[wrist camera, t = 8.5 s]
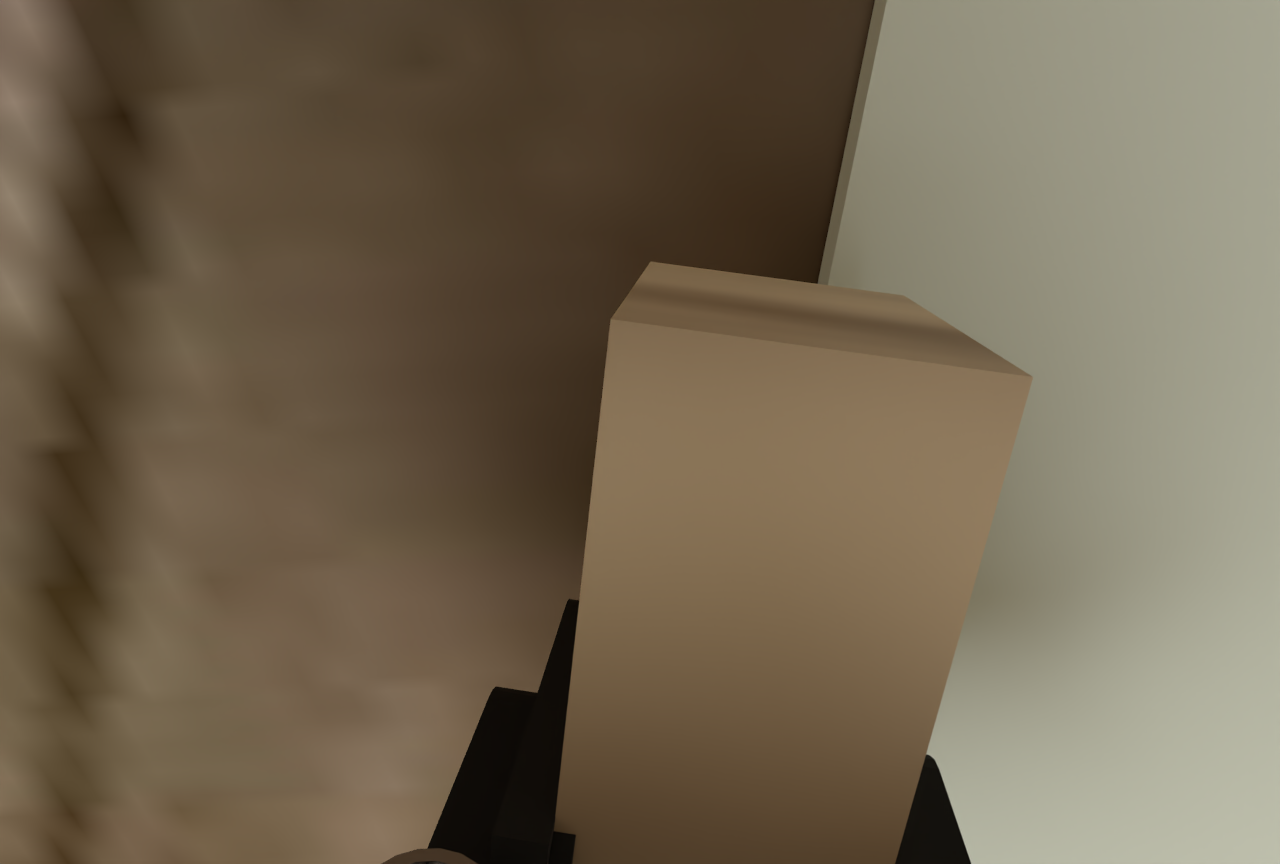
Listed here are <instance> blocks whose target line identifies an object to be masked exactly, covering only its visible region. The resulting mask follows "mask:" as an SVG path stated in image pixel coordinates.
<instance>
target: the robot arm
mask: <svg viewBox="0 0 1280 864" xmlns="http://www.w3.org/2000/svg"><path fill="white" fill-rule="evenodd" d="M578 608H579V601H578V600H572V599H569V600H568V601H567V604H566V607H565V610H564V613H563V616H562V619H561V622H560V625H559V628H558V631H557V635H556V638H555V641H554V644H553V647H552V650H551V653H550V656H549V659H548V662H547V665H546V669H545V672H544V675H543V678H542V681H541V684H540V687H539V690H538V693H534V692H527V691H521V690H514V689H508V688H502V687H495V688H494V689H493V690H492V692H491V694H490V696H489V698H488V701H487V703H486V706H485V708H484V710H483V713H482V715H481V718H480V720H479V723H478V725H477V728H476V730H475V733H474V735H473V738H472V740H471V743H470V745H469V747H468V750H467V752H466V755H465V757H464V760H463V762H462V765H461V767H460V770H459V772H458V775H457V777H456V779H455V782H454V784H453V787H452V789H451V792H450V794H449V797H448V799H447V802H446V804H445V807H444V809H443V811H442V814H441V816H440V819H439V821H438V824H437V826H436V829H435V831H434V834H433V836H432V839H431V841H430V843H429V846H428V848H427V849H417V850H413V851H410V852H406V853H403V854H399V855H396V856H394V857H392V858H391V859H389V860H387V861H385V862H384V863H382V864H573V855H574V847H575V839H576V835H575V834H568V833H562V832H556V831H554V827H555V814H556V805H557V796H558V787H559V778H560V769H561V760H562V751H563V742H564V733H565V724H566V715H567V706H568V697H569V689H570V680H571V671H572V662H573V653H574V644H575V635H576V626H577V617H578ZM895 864H971V861H970V858H969V855H968V853H967V850H966V847H965V844H964V841H963V838H962V835H961V832H960V829H959V826H958V823H957V820H956V817H955V814H954V811H953V808H952V805H951V802H950V799H949V797H948V794H947V791H946V788H945V785H944V782H943V779H942V776H941V773H940V770H939V768H938V766H937V763H936V761H935V759H934V758H932V757H931V756H930V755H927V754H926V756H925V760H924V763H923V767H922V770H921V774H920V777H919V781H918V784H917V788H916V791H915V795H914V799H913V802H912V806H911V809H910V813H909V816H908V820H907V823H906V827H905V830H904V834H903V837H902V841H901V844H900V848H899V851H898V855H897V858H896V862H895Z"/></svg>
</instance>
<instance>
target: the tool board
mask: <svg viewBox="0 0 1280 864" xmlns="http://www.w3.org/2000/svg"><path fill="white" fill-rule="evenodd" d="M818 284H822V285H830V286H837V287H845V288H852V289H860V290H867V291H874V292H882V293H889V294H897V295H904V296H906V297H907V298H909V299H910V300H912V301H913V302H915V303H917V304H918V305H920V306H921V307H923V308H925V309H926V310H928V311H929V312H931V313H932V314H934V315H936V316H937V317H939V318H940V319H942V320H944V321H945V322H947V323H948V324H950V325H952V326H953V327H955V328H956V329H958V330H959V331H961V332H963V333H964V334H966V335H967V336H969V337H971V338H972V339H974V340H975V341H977V342H978V343H980V344H982V345H983V346H985V347H986V348H988V349H990V350H991V351H993V352H994V353H996V354H997V355H999V356H1001V357H1002V358H1004V359H1005V360H1007V361H1009V362H1010V363H1012V364H1013V365H1015V366H1016V367H1018V368H1020V369H1021V370H1023V371H1024V372H1026V373H1028V374H1029V375H1031V376H1032V377H1033V380H1032V383H1031V387H1030V390H1029V394H1028V397H1027V401H1026V404H1025V408H1024V411H1023V415H1022V418H1021V422H1020V425H1019V429H1018V432H1017V436H1016V439H1015V443H1014V446H1013V450H1012V453H1011V457H1010V461H1009V464H1008V468H1007V471H1006V475H1005V478H1004V482H1003V485H1002V489H1001V492H1000V496H999V499H998V503H997V506H996V510H995V513H994V517H993V520H992V524H991V527H990V531H989V534H988V538H987V541H986V545H985V549H984V552H983V556H982V559H981V563H980V566H979V570H978V573H977V577H976V580H975V584H974V587H973V591H972V594H971V598H970V601H969V605H968V608H967V612H966V615H965V619H964V622H963V626H962V630H961V633H960V637H959V640H958V644H957V647H956V651H955V654H954V658H953V661H952V665H951V668H950V672H949V675H948V679H947V682H946V686H945V689H944V693H943V696H942V700H941V703H940V707H939V710H938V714H937V718H936V721H935V725H934V728H933V732H932V735H931V739H930V742H929V746H928V749H927V753H926V754H927V755H930V756H931V757H932V758H934V759H935V761H936V763H937V766H938V768H939V770H940V773H941V776H942V779H943V782H944V785H945V788H946V791H947V794H948V797H949V799H950V802H951V805H952V808H953V811H954V814H955V817H956V820H957V823H958V826H959V829H960V832H961V835H962V838H963V841H964V844H965V847H966V850H967V853H968V855H969V858H970V861H971V864H1280V0H875V2H874V7H873V12H872V17H871V22H870V27H869V32H868V37H867V42H866V47H865V52H864V57H863V62H862V67H861V71H860V76H859V81H858V86H857V91H856V96H855V101H854V106H853V111H852V116H851V121H850V126H849V131H848V136H847V141H846V146H845V150H844V155H843V160H842V165H841V170H840V175H839V180H838V185H837V190H836V195H835V200H834V205H833V210H832V215H831V220H830V225H829V229H828V234H827V239H826V244H825V249H824V254H823V259H822V264H821V269H820V274H819V279H818Z"/></svg>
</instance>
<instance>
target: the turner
mask: <svg viewBox="0 0 1280 864" xmlns="http://www.w3.org/2000/svg"><path fill="white" fill-rule="evenodd" d="M1032 380H1033V377H1032V376H1031V375H1029V374H1028V373H1026V372H1024V371H1023V370H1021V369H1020V368H1018V367H1016V366H1015V365H1013V364H1012V363H1010V362H1009V361H1007V360H1005V359H1004V358H1002V357H1001V356H999V355H997V354H996V353H994V352H993V351H991V350H990V349H988V348H986V347H985V346H983V345H982V344H980V343H978V342H977V341H975V340H974V339H972V338H971V337H969V336H967V335H966V334H964V333H963V332H961V331H959V330H958V329H956V328H955V327H953V326H952V325H950V324H948V323H947V322H945V321H944V320H942V319H940V318H939V317H937V316H936V315H934V314H932V313H931V312H929V311H928V310H926V309H925V308H923V307H921V306H920V305H918V304H917V303H915V302H913V301H912V300H910V299H909V298H907V297H906V296H904V295H897V294H889V293H882V292H874V291H867V290H860V289H852V288H845V287H837V286H830V285H822V284H815V283H807V282H800V281H792V280H785V279H777V278H770V277H762V276H755V275H747V274H740V273H732V272H725V271H717V270H710V269H702V268H695V267H687V266H680V265H672V264H665V263H658V262H650V263H649V265H648V266H647V267H646V269H645V270H644V272H643V273H642V275H641V276H640V278H639V279H638V280H637V282H636V283H635V285H634V286H633V288H632V289H631V291H630V292H629V293H628V295H627V296H626V298H625V299H624V301H623V302H622V303H621V305H620V306H619V308H618V309H617V311H616V312H615V314H614V315H613V316H612V318H611V320H610V329H609V338H608V347H607V356H606V365H605V374H604V383H603V392H602V401H601V410H600V419H599V428H598V437H597V446H596V455H595V464H594V473H593V482H592V491H591V500H590V509H589V518H588V527H587V536H586V545H585V554H584V563H583V572H582V581H581V590H580V599H579V608H578V617H577V626H576V635H575V644H574V653H573V662H572V671H571V680H570V689H569V697H568V706H567V715H566V724H565V733H564V742H563V751H562V760H561V769H560V778H559V787H558V796H557V805H556V814H555V827H554V831H556V832H562V833H568V834H575V835H576V839H575V847H574V855H573V864H895V862H896V858H897V855H898V851H899V848H900V844H901V841H902V837H903V834H904V830H905V827H906V823H907V820H908V816H909V813H910V809H911V806H912V802H913V799H914V795H915V791H916V788H917V784H918V781H919V777H920V774H921V770H922V767H923V763H924V760H925V756H926V753H927V749H928V746H929V742H930V739H931V735H932V732H933V728H934V725H935V721H936V718H937V714H938V710H939V707H940V703H941V700H942V696H943V693H944V689H945V686H946V682H947V679H948V675H949V672H950V668H951V665H952V661H953V658H954V654H955V651H956V647H957V644H958V640H959V637H960V633H961V630H962V626H963V622H964V619H965V615H966V612H967V608H968V605H969V601H970V598H971V594H972V591H973V587H974V584H975V580H976V577H977V573H978V570H979V566H980V563H981V559H982V556H983V552H984V549H985V545H986V541H987V538H988V534H989V531H990V527H991V524H992V520H993V517H994V513H995V510H996V506H997V503H998V499H999V496H1000V492H1001V489H1002V485H1003V482H1004V478H1005V475H1006V471H1007V468H1008V464H1009V461H1010V457H1011V453H1012V450H1013V446H1014V443H1015V439H1016V436H1017V432H1018V429H1019V425H1020V422H1021V418H1022V415H1023V411H1024V408H1025V404H1026V401H1027V397H1028V394H1029V390H1030V387H1031V383H1032Z"/></svg>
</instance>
